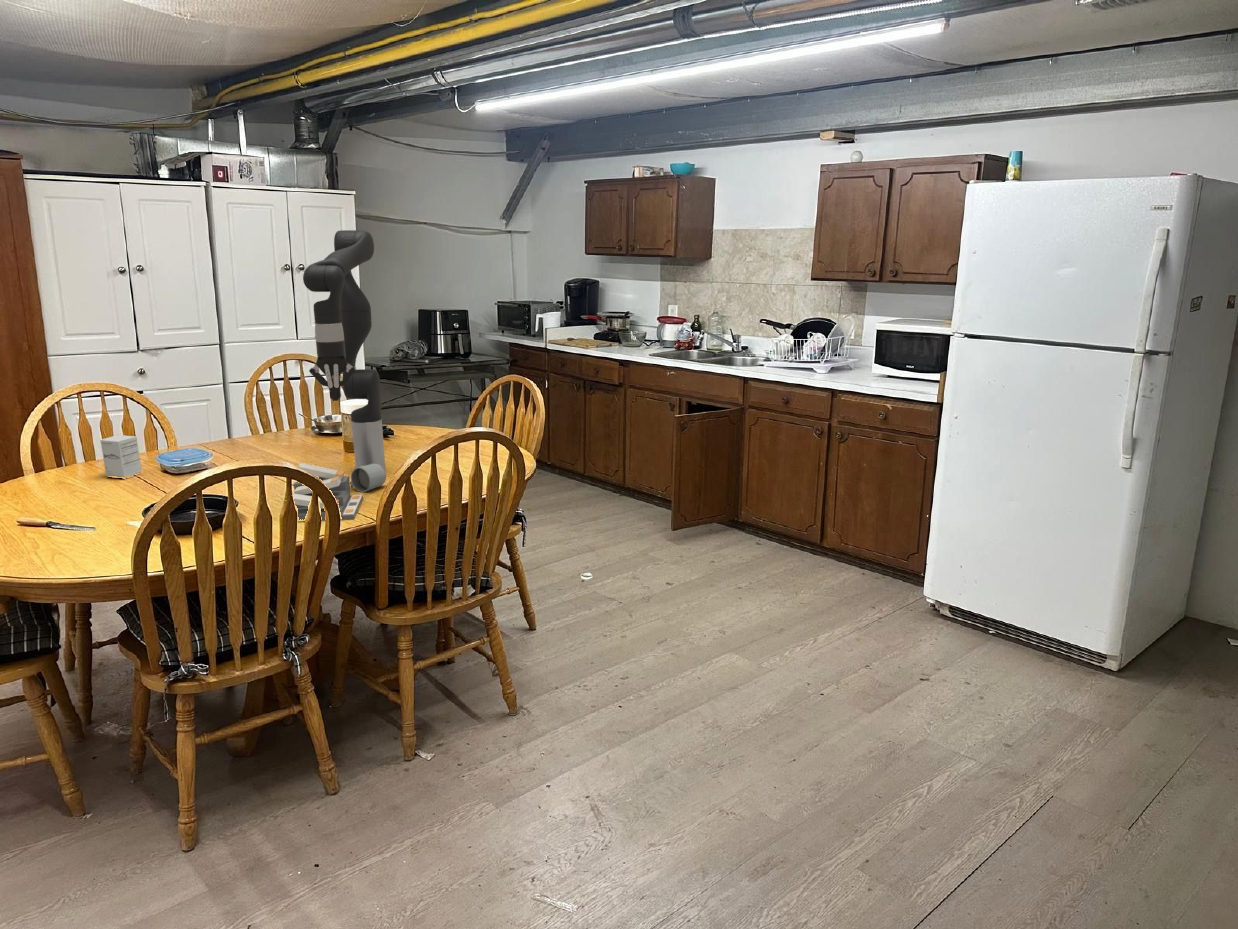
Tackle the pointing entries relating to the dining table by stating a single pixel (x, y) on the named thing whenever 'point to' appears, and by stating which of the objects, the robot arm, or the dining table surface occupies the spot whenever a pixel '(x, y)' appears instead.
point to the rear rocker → (321, 471)
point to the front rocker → (305, 500)
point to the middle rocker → (329, 482)
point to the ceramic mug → (367, 477)
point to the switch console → (342, 493)
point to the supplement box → (121, 456)
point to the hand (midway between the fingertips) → (335, 400)
